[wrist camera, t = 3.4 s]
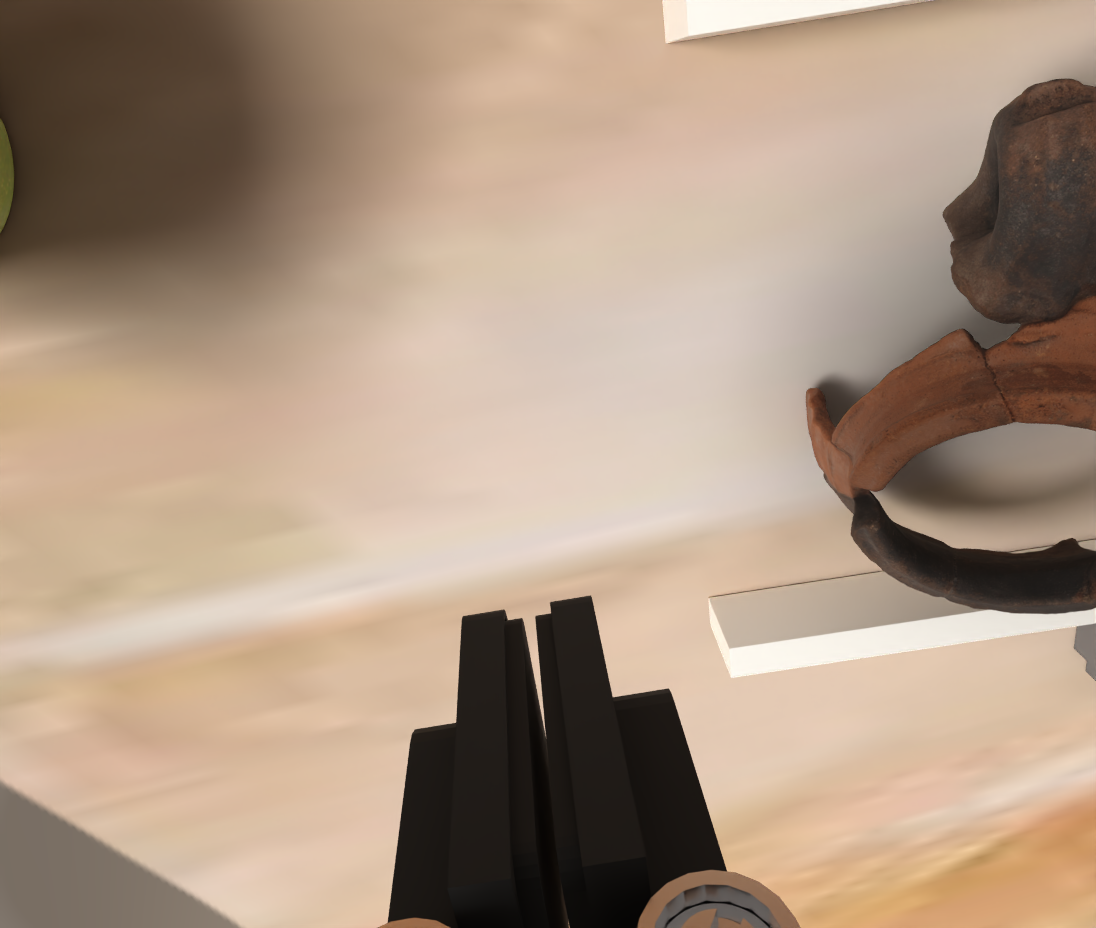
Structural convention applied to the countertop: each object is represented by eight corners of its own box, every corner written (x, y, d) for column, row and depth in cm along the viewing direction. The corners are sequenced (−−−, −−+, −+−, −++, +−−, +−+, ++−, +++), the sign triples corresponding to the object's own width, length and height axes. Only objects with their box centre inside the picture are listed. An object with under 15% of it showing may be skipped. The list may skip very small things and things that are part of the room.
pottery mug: (1193, 392, 23) (1278, 642, 18) (845, 428, 28) (831, 635, 23) (1245, -64, 16) (1414, 133, 11) (761, 84, 20) (712, 274, 15)
